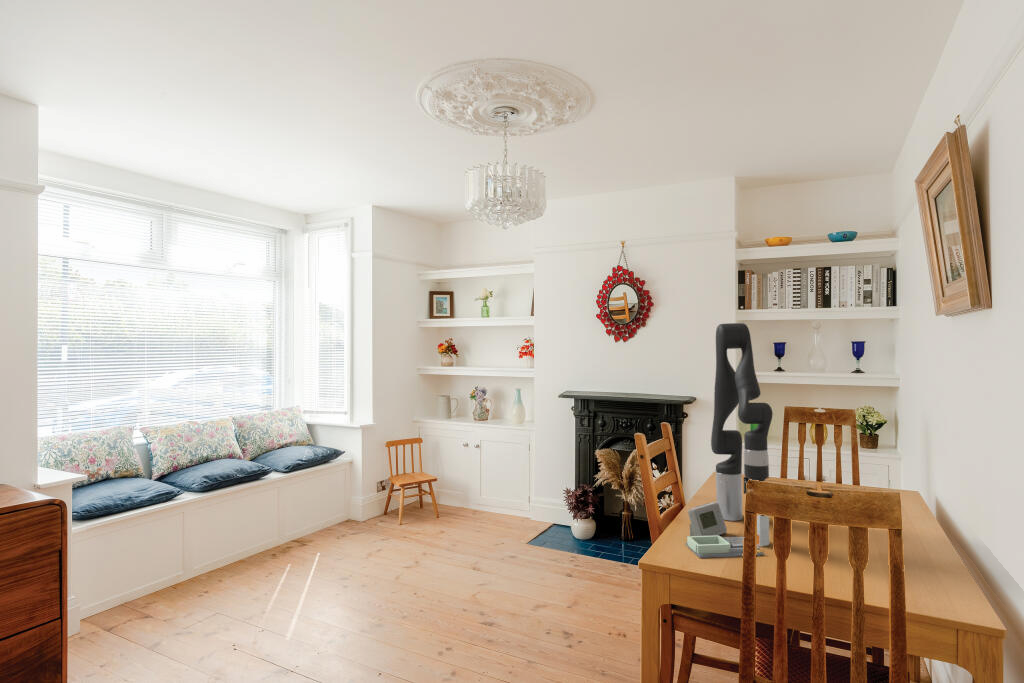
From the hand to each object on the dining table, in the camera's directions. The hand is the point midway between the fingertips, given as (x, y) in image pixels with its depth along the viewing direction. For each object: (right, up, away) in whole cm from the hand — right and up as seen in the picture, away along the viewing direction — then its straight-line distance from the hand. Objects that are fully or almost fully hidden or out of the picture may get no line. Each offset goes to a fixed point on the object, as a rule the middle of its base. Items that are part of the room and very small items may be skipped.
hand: (757, 512), depth 191 cm
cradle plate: (-9, -8, -5) cm, 13 cm away
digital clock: (-14, -11, +8) cm, 19 cm away
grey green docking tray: (-13, -11, -6) cm, 18 cm away
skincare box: (0, -11, 0) cm, 11 cm away
